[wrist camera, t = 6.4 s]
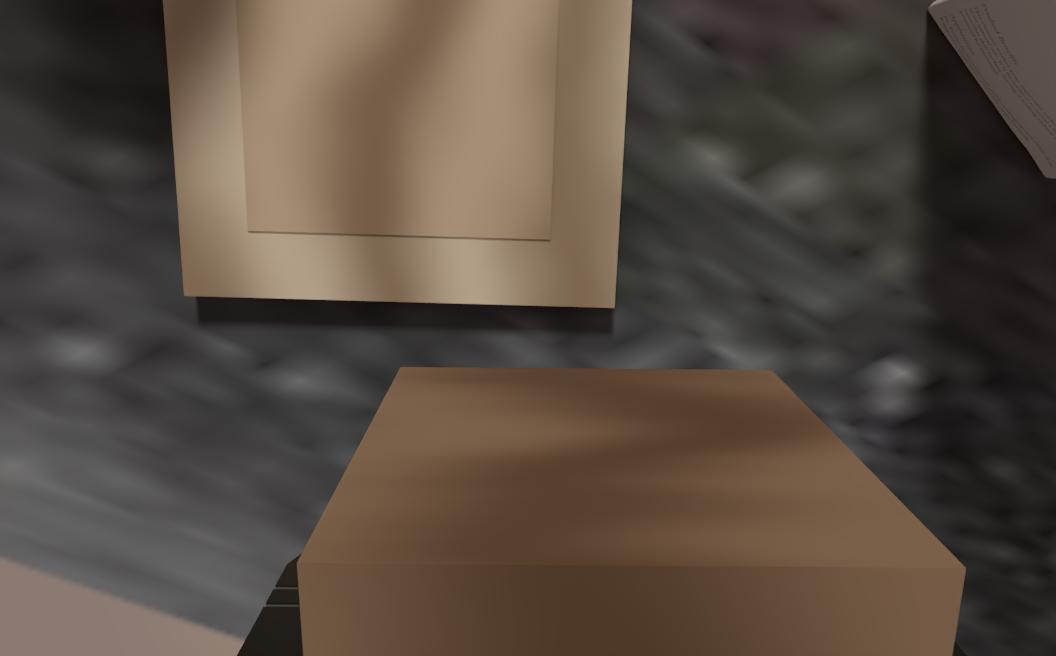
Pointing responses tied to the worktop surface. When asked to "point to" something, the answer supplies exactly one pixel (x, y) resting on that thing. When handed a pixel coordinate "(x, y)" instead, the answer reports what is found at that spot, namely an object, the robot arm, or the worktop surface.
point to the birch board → (400, 148)
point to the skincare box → (1010, 63)
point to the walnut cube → (616, 525)
